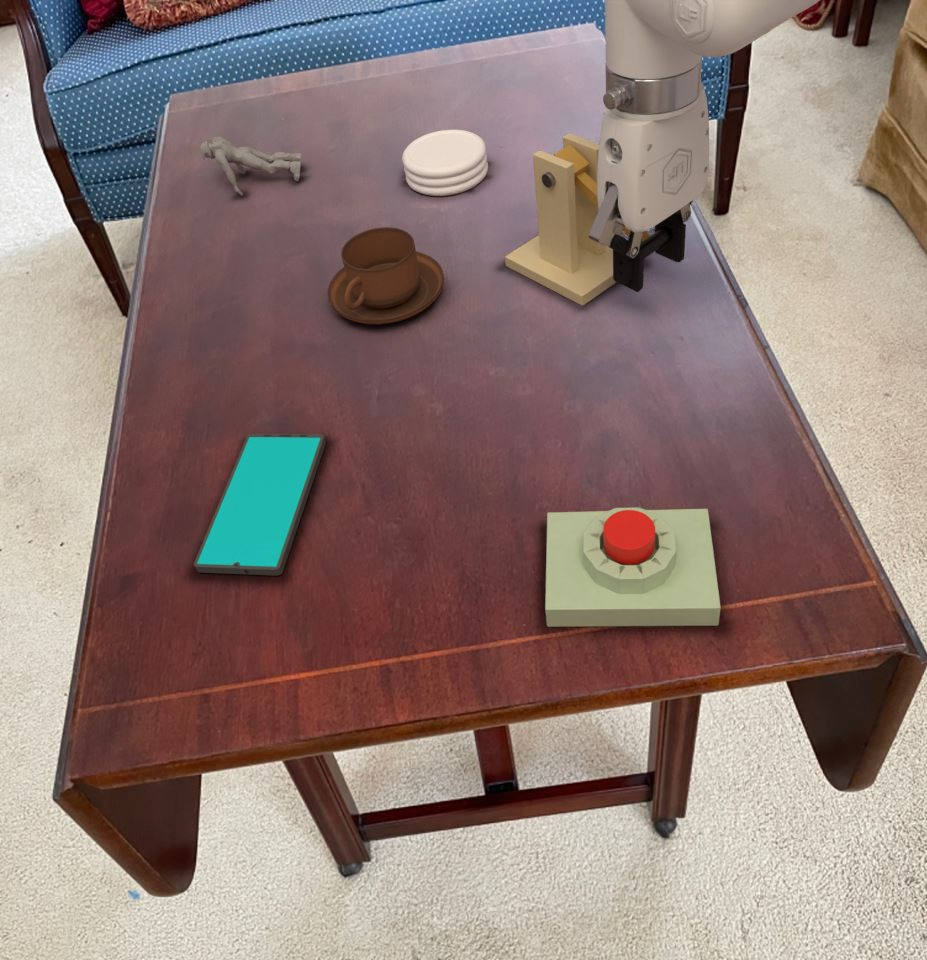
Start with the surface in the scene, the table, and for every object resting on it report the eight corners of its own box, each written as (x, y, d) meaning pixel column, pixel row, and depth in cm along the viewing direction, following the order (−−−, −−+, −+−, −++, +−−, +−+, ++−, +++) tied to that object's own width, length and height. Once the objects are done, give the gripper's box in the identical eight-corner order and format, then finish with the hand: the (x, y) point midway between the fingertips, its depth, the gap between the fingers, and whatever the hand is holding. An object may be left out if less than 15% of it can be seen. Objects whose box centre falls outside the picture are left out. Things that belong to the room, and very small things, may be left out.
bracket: (643, 263, 96) (645, 146, 86) (582, 306, 92) (577, 188, 83) (565, 227, 102) (559, 114, 93) (505, 266, 99) (493, 152, 89)
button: (653, 524, 68) (653, 508, 67) (656, 564, 66) (657, 548, 64) (603, 525, 68) (602, 510, 67) (604, 565, 66) (603, 549, 65)
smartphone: (324, 433, 83) (278, 569, 73) (327, 440, 84) (281, 576, 74) (246, 433, 84) (191, 566, 74) (249, 439, 85) (194, 572, 75)
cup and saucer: (432, 337, 92) (422, 285, 87) (317, 333, 95) (301, 283, 90) (457, 265, 100) (449, 214, 95) (350, 264, 102) (337, 214, 98)
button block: (706, 527, 72) (709, 492, 69) (718, 625, 66) (722, 592, 63) (548, 530, 74) (545, 496, 71) (547, 627, 67) (543, 594, 65)
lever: (667, 246, 89) (677, 230, 87) (632, 271, 87) (641, 255, 85) (573, 155, 91) (580, 137, 89) (537, 177, 90) (543, 159, 87)
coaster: (420, 153, 117) (416, 127, 115) (497, 155, 115) (494, 128, 112) (395, 196, 111) (390, 169, 108) (476, 199, 108) (472, 171, 106)
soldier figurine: (297, 180, 121) (201, 164, 118) (301, 142, 118) (203, 124, 115) (296, 206, 117) (196, 190, 114) (300, 166, 113) (198, 149, 110)
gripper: (616, 138, 70) (617, 330, 83) (757, 52, 77) (737, 243, 90) (545, 112, 75) (557, 299, 88) (684, 32, 81) (676, 217, 94)
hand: (648, 269), depth 89 cm, fingers closed on lever, 5 cm apart
